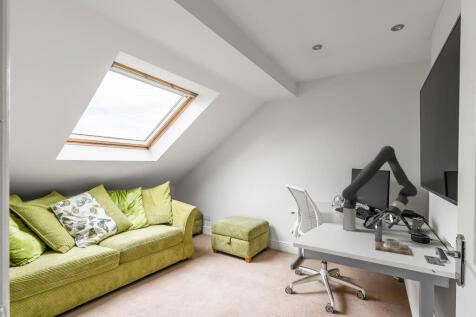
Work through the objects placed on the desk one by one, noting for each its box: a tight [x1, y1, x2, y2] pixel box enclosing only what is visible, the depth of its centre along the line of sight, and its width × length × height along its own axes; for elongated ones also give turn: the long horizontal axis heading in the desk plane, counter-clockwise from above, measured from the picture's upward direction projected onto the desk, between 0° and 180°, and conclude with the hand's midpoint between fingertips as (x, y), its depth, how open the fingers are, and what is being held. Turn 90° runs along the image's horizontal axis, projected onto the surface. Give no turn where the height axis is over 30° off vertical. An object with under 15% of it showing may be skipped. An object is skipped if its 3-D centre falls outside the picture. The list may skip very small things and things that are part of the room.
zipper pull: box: [407, 219, 425, 235], centre depth 192 cm, size 9×7×25 cm
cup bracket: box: [374, 237, 412, 256], centre depth 154 cm, size 18×14×6 cm
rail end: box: [374, 222, 383, 242], centre depth 169 cm, size 5×5×12 cm
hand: (383, 226), depth 170 cm, fingers open, 8 cm apart
